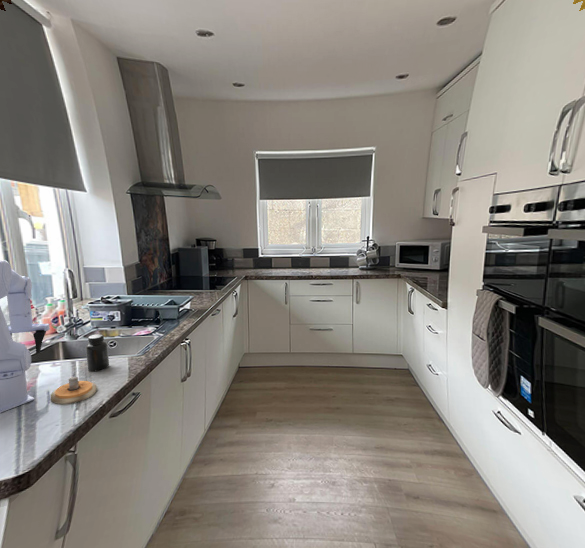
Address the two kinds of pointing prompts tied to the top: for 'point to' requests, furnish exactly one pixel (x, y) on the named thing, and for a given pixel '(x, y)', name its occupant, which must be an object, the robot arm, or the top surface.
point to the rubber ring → (84, 388)
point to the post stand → (73, 386)
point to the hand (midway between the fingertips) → (24, 353)
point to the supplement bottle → (97, 353)
